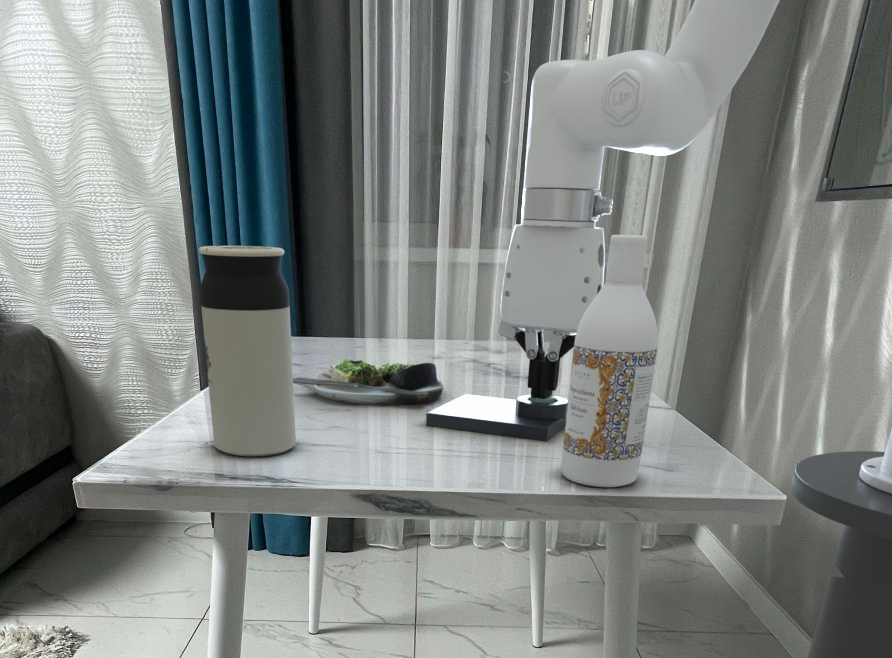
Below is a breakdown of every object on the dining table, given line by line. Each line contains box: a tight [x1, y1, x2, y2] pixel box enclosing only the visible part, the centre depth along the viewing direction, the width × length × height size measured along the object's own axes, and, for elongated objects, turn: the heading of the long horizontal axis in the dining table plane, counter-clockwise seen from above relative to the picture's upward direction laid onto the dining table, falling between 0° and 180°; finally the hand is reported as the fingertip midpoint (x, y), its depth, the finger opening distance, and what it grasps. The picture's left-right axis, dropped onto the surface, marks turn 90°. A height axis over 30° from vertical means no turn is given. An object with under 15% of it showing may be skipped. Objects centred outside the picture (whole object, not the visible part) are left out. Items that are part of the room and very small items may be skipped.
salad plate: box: [293, 358, 444, 406], centre depth 104 cm, size 19×18×5 cm
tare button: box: [530, 394, 556, 403], centre depth 90 cm, size 3×3×2 cm
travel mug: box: [198, 245, 297, 457], centre depth 76 cm, size 8×8×18 cm
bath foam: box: [560, 234, 659, 488], centre depth 70 cm, size 7×7×20 cm
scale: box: [425, 393, 568, 442], centre depth 92 cm, size 14×12×3 cm
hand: (541, 395), depth 90 cm, fingers closed
